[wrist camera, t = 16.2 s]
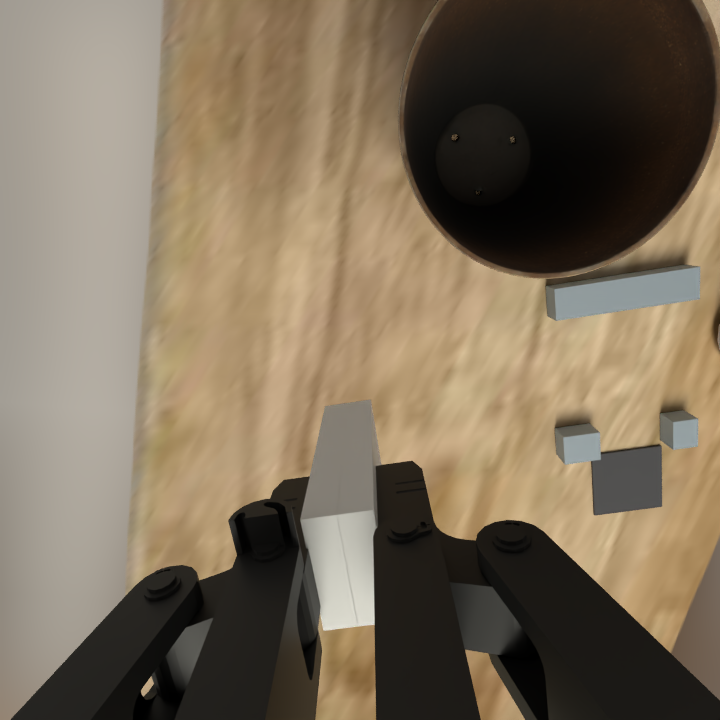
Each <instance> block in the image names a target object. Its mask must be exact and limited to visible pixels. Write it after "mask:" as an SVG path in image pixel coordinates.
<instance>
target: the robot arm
mask: <svg viewBox="0 0 720 720" xmlns="http://www.w3.org/2000/svg"><path fill="white" fill-rule="evenodd" d="M228 521H229V525H230V529H231V533H232V537H233V541H234V545H235V549H236V553H237V557H236V559H235V562H234V565H233V567H232V568H231V569H230V570H227V571H225V572H222V573H220V574H217V575H214V576H211V577H208V578H206V579H203V580H200V581H199V578H198V575H197V572H196V571H195V570H194V569H193V568H192V567H188V566H184V565H179V566H170V567H166V568H164V569H160V570H157V571H156V572H154V573H152V574H151V575H149V576H147V577H145V578H144V579H143V580H142V581H140V582H139V583H138V584H137V585H136V586H135V587H134V588H133V589H132V590H131V591H130V592H129V593H128V594H127V595H126V596H125V597H124V598H123V599H122V601H121V602H120V603H119V604H118V605H117V606H116V607H115V608H114V609H113V610H112V611H111V612H110V613H109V615H108V616H107V617H106V618H105V619H104V620H103V621H102V622H101V623H100V624H99V625H98V626H97V627H96V628H95V630H94V631H93V632H92V633H91V634H90V635H89V636H88V637H87V638H86V639H85V640H84V641H83V643H82V644H81V645H80V646H79V647H78V648H77V649H76V650H75V651H74V652H73V653H72V654H71V655H70V656H69V657H68V659H67V660H66V661H65V662H64V663H63V664H62V665H61V666H60V667H59V668H58V669H57V670H56V671H55V672H54V674H53V675H52V676H51V677H50V678H49V679H48V680H47V681H46V682H45V683H44V684H43V685H42V686H41V688H40V689H39V690H38V691H37V692H36V693H35V694H34V695H33V696H32V697H31V698H30V699H29V701H27V703H26V704H25V705H24V706H23V707H22V708H21V709H20V710H19V711H18V712H17V713H16V714H15V715H14V717H13V718H12V719H11V720H315V716H316V706H317V696H318V686H319V676H320V666H321V655H322V647H321V641H320V636H319V631H318V624H319V615H321V620H322V624H323V629H324V631H325V630H333V629H341V628H349V627H358V626H366V625H374V624H375V673H376V720H481V719H480V715H479V710H478V706H477V701H476V697H475V693H474V688H473V684H472V679H471V675H470V670H469V666H468V662H467V657H466V653H465V650H471V651H478V652H484V653H489V656H490V659H491V662H492V664H493V666H494V668H495V669H496V671H497V673H498V674H499V676H500V678H501V680H502V681H503V683H504V685H505V686H506V688H507V690H508V691H509V693H510V695H511V696H512V698H513V700H514V701H515V703H516V705H517V706H518V708H519V710H520V711H521V713H522V715H523V716H524V718H525V720H720V700H719V699H718V698H717V697H715V696H714V695H713V694H712V693H711V692H710V691H709V690H708V689H707V688H706V687H705V686H704V685H703V684H702V683H701V682H700V681H699V680H698V679H697V678H696V677H694V675H693V674H691V673H690V672H689V671H688V670H687V669H686V668H685V667H684V666H683V665H682V664H681V663H680V662H679V661H678V660H677V659H676V658H675V657H674V656H673V655H672V654H671V653H670V652H669V651H667V650H666V649H665V648H664V647H663V646H662V645H661V644H660V643H659V642H658V641H657V640H656V639H655V638H654V637H653V636H652V635H651V634H650V633H649V632H648V631H647V630H646V629H645V628H643V627H642V626H641V625H640V624H639V623H638V622H637V621H636V620H635V619H634V618H633V617H632V616H631V615H630V614H629V613H628V612H627V611H626V610H625V609H624V608H623V607H622V606H621V605H619V604H618V603H617V602H616V601H615V600H614V599H613V598H612V597H611V596H610V595H609V594H608V593H607V592H606V591H605V590H604V589H603V588H602V587H601V586H600V585H599V584H598V583H597V582H596V581H594V580H593V579H592V578H591V577H590V576H589V575H588V574H587V573H586V572H585V571H584V570H583V569H582V568H581V567H580V566H579V565H578V564H577V563H576V562H575V561H574V560H573V559H572V558H570V557H569V556H568V555H567V554H566V553H565V552H564V551H563V550H562V549H561V548H560V547H559V546H558V545H557V544H556V543H555V542H554V541H553V540H552V539H551V538H550V537H549V536H548V535H546V534H545V533H544V532H543V531H542V530H540V529H539V528H537V527H536V526H534V525H532V524H529V523H526V522H522V521H514V520H513V521H512V520H506V521H499V522H494V523H492V524H490V525H487V526H485V527H484V528H483V529H482V530H481V531H480V532H479V533H478V534H477V538H476V541H474V540H464V539H458V538H454V537H451V536H448V535H446V534H445V533H443V532H441V531H440V530H439V529H438V528H437V527H436V525H435V523H434V520H433V516H432V511H431V507H430V502H429V498H428V494H427V490H426V485H425V481H424V476H423V471H422V468H420V467H419V466H418V465H417V464H415V463H414V462H413V461H407V462H400V463H393V464H386V465H381V460H380V453H379V447H378V441H377V435H376V429H375V422H374V416H373V410H372V404H371V400H365V401H358V402H351V403H344V404H337V405H330V406H325V409H324V414H323V418H322V423H321V428H320V432H319V437H318V441H317V446H316V450H315V455H314V459H313V464H312V468H311V473H310V477H302V478H295V479H288V480H283V481H282V482H281V483H280V484H279V485H278V486H277V487H276V488H275V489H274V490H273V492H272V495H271V498H270V499H264V500H260V501H256V502H253V503H250V504H248V505H246V506H244V507H242V508H240V509H239V510H238V511H236V512H235V513H234V514H233V515H232V516H231V518H230V519H229V520H228ZM151 676H152V679H153V682H154V685H153V686H152V688H151V689H150V690H149V692H148V693H147V694H146V695H145V696H144V697H143V696H142V694H141V689H142V688H143V686H144V685H145V684H146V682H147V681H148V679H149V678H150V677H151Z"/></svg>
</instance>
